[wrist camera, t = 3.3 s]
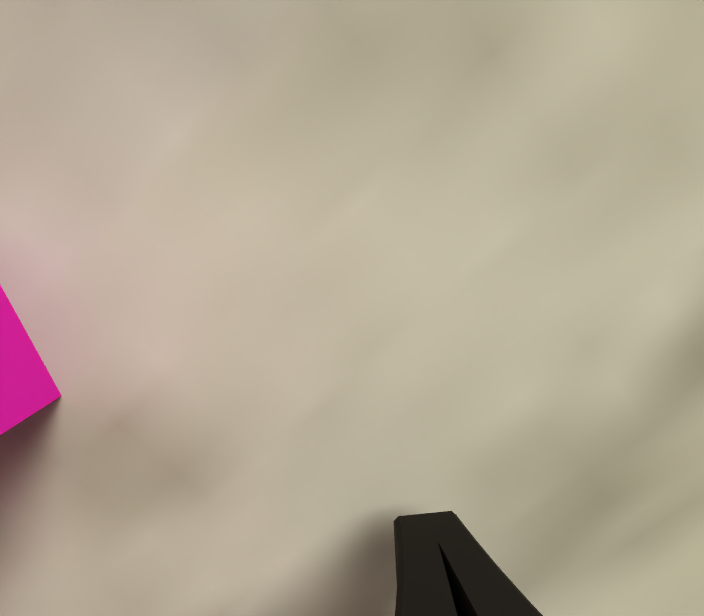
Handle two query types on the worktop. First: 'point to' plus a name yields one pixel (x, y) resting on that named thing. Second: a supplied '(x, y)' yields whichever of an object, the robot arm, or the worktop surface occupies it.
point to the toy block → (20, 371)
